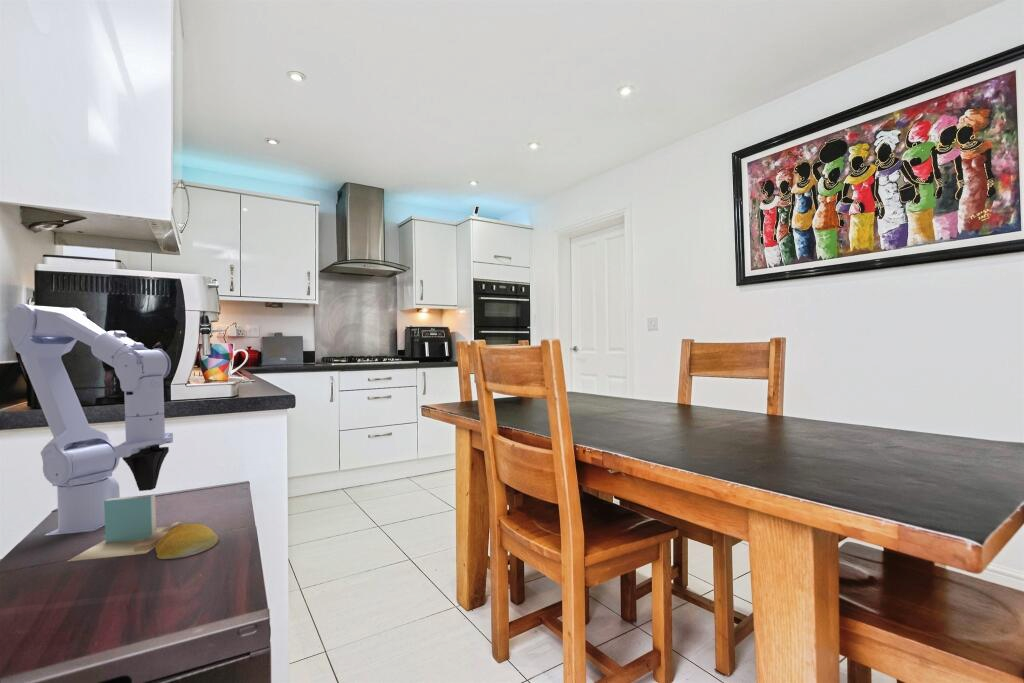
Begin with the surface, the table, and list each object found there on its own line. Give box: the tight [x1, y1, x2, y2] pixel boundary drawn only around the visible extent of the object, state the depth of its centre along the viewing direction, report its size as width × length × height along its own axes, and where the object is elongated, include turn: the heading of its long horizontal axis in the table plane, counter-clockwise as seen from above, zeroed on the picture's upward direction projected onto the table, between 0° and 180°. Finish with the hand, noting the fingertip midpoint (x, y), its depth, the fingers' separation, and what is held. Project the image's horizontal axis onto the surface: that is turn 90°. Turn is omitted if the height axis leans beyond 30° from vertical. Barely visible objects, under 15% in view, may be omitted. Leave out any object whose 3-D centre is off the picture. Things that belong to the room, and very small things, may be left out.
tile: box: [104, 494, 157, 543], centre depth 82 cm, size 2×7×7 cm, turn 100°
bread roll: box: [155, 523, 219, 560], centre depth 77 cm, size 8×9×4 cm
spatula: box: [134, 521, 182, 551], centre depth 82 cm, size 11×2×1 cm, turn 10°
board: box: [66, 526, 168, 562], centre depth 81 cm, size 13×11×1 cm
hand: (147, 489), depth 87 cm, fingers closed
